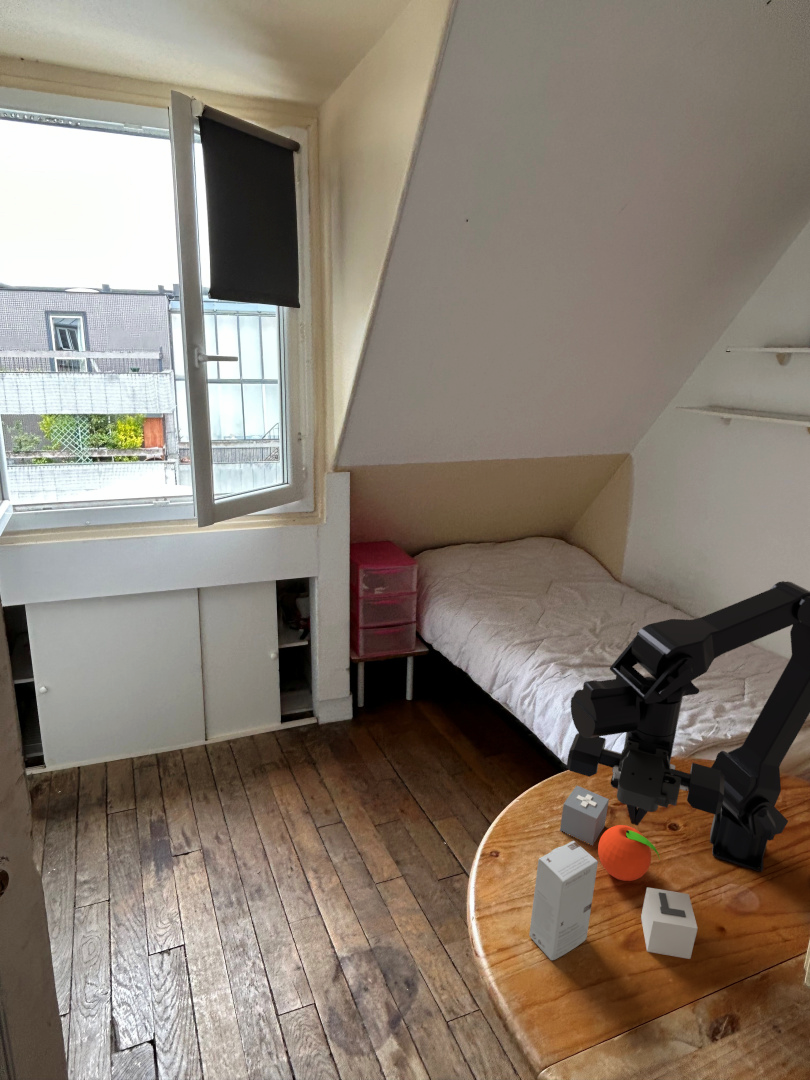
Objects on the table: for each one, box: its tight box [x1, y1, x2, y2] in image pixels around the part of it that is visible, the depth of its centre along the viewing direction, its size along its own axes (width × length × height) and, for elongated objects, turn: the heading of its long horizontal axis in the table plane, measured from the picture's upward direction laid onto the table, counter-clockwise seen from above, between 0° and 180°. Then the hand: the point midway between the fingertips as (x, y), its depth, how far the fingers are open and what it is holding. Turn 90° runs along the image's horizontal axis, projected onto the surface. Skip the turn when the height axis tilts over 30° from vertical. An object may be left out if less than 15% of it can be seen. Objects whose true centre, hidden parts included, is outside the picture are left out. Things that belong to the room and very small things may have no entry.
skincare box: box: [529, 840, 599, 961], centre depth 82 cm, size 6×4×12 cm
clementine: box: [597, 824, 661, 882], centre depth 93 cm, size 8×7×7 cm
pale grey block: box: [640, 887, 698, 960], centre depth 84 cm, size 5×5×5 cm
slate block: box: [559, 785, 610, 847], centre depth 101 cm, size 5×5×5 cm
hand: (634, 822), depth 91 cm, fingers closed
